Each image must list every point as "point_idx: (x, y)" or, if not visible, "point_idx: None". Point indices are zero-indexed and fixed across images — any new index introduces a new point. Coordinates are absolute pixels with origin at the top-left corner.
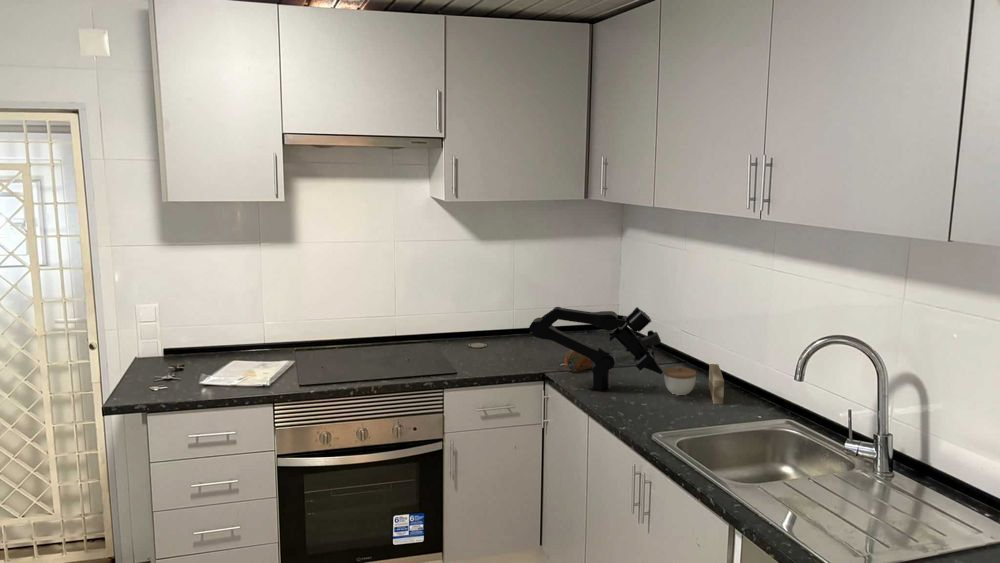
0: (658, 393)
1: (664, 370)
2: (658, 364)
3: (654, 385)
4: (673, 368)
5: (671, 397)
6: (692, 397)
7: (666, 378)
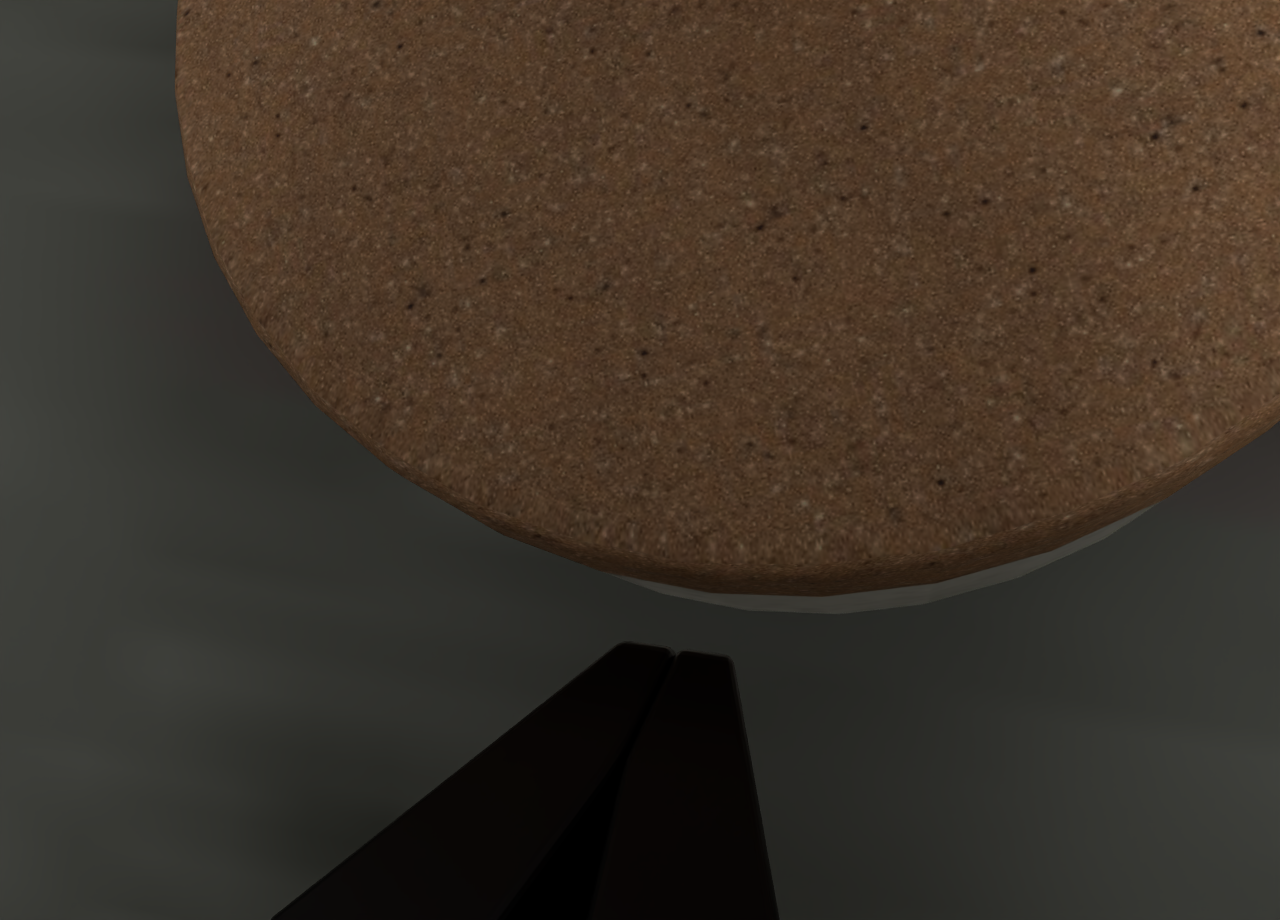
0: (918, 837)
1: (634, 557)
2: (365, 862)
3: (244, 816)
4: (429, 130)
5: (1254, 532)
6: None
7: (1031, 562)
